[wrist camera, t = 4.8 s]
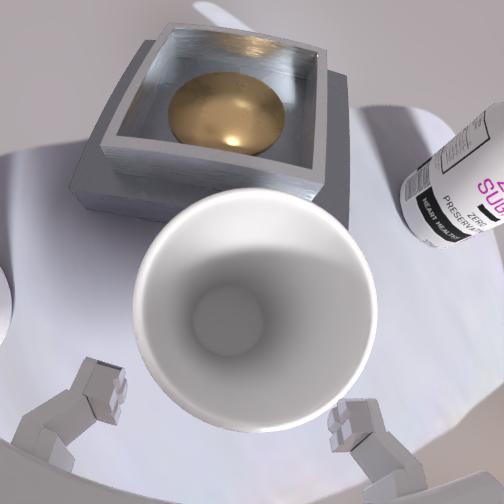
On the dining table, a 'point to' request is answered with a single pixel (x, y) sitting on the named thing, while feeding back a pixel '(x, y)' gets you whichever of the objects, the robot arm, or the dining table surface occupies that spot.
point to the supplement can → (459, 185)
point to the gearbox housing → (218, 125)
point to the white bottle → (4, 306)
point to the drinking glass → (254, 310)
